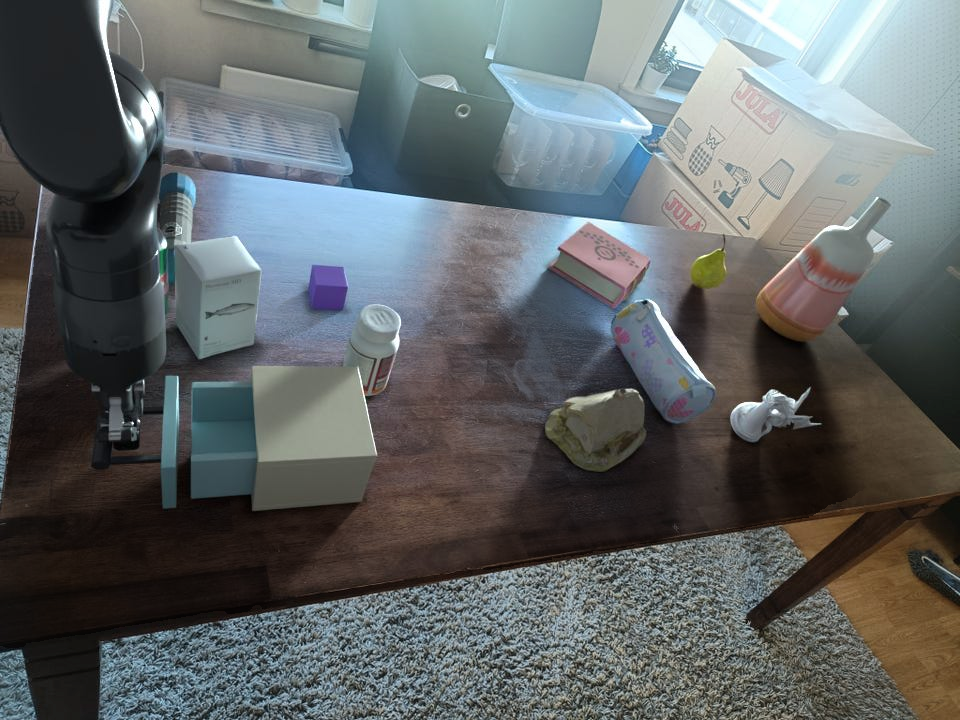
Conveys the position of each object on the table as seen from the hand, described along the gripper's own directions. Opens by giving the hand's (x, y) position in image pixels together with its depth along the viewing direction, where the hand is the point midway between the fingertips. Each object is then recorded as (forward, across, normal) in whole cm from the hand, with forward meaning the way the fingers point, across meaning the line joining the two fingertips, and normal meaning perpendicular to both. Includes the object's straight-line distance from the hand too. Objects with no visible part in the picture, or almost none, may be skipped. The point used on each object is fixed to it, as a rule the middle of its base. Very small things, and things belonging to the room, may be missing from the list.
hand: (127, 444), depth 62 cm
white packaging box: (+4, -20, +8) cm, 22 cm away
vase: (+4, -27, +116) cm, 120 cm away
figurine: (+4, +1, +87) cm, 88 cm away
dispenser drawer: (+3, 0, +6) cm, 6 cm away
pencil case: (+4, -12, +73) cm, 74 cm away
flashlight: (+4, -39, +3) cm, 39 cm away
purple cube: (+4, -28, +23) cm, 37 cm away
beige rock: (+4, -1, +57) cm, 58 cm away
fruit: (+4, -38, +101) cm, 108 cm away
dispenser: (+4, 0, +17) cm, 18 cm away
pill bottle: (+4, -12, +26) cm, 29 cm away
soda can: (+4, -24, 0) cm, 24 cm away
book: (+4, -39, +76) cm, 86 cm away
